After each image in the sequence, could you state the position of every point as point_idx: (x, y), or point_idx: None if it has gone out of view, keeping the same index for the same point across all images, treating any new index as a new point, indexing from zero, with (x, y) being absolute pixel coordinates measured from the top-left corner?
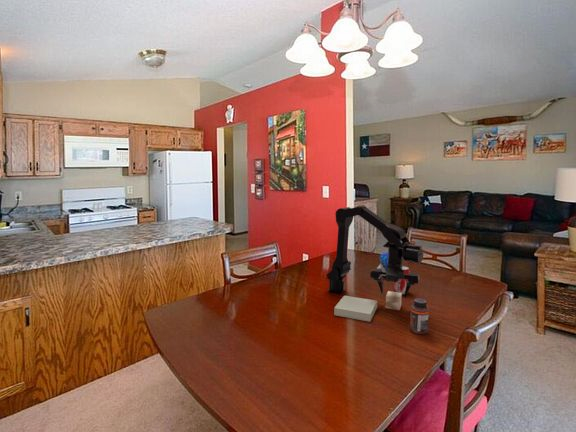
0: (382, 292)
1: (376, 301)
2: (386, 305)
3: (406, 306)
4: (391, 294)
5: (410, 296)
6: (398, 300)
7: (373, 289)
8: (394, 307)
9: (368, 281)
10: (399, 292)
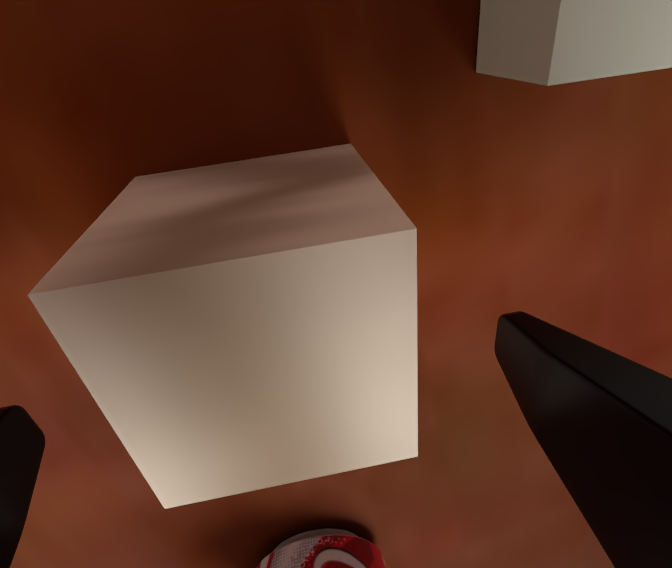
0: (523, 330)
1: (564, 33)
2: (346, 155)
3: None
4: (311, 355)
5: (217, 541)
6: (104, 246)
7: (542, 492)
8: (211, 173)
9: (579, 564)
10: (317, 544)
